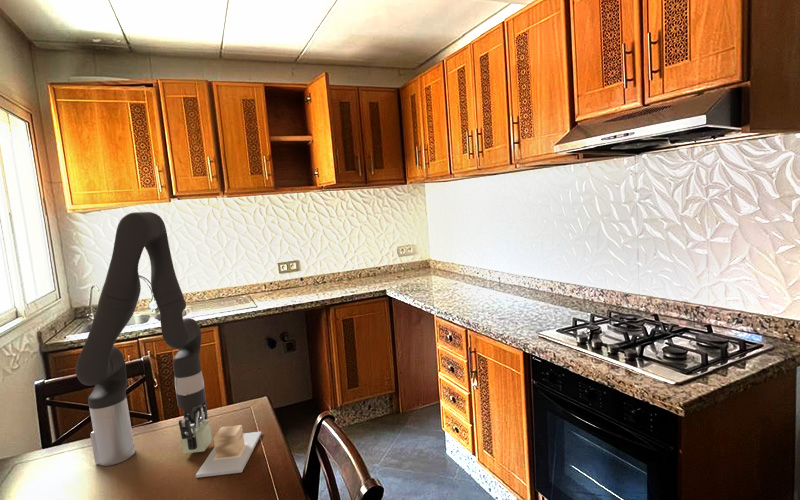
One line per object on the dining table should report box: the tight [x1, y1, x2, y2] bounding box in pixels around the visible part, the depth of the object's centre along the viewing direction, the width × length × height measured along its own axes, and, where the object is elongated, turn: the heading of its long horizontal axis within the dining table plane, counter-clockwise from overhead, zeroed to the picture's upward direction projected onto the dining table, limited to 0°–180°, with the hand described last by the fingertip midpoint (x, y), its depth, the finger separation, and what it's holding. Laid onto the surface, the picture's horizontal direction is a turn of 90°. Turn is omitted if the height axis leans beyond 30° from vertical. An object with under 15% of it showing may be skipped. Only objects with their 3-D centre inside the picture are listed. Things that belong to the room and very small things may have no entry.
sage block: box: [180, 421, 213, 454], centre depth 131 cm, size 6×6×6 cm
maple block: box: [213, 424, 244, 458], centre depth 127 cm, size 6×6×6 cm
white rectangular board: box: [195, 431, 262, 478], centre depth 128 cm, size 12×20×1 cm, turn 3°
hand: (197, 442), depth 131 cm, fingers closed on sage block, 6 cm apart
